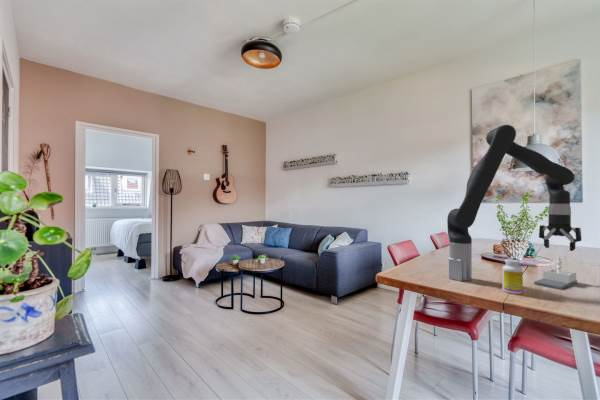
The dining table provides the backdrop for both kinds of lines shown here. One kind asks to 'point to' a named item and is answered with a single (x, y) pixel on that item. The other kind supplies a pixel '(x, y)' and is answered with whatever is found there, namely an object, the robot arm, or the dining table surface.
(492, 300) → the dining table surface
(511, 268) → the supplement bottle
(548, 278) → the end cap plate
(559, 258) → the chess piece
